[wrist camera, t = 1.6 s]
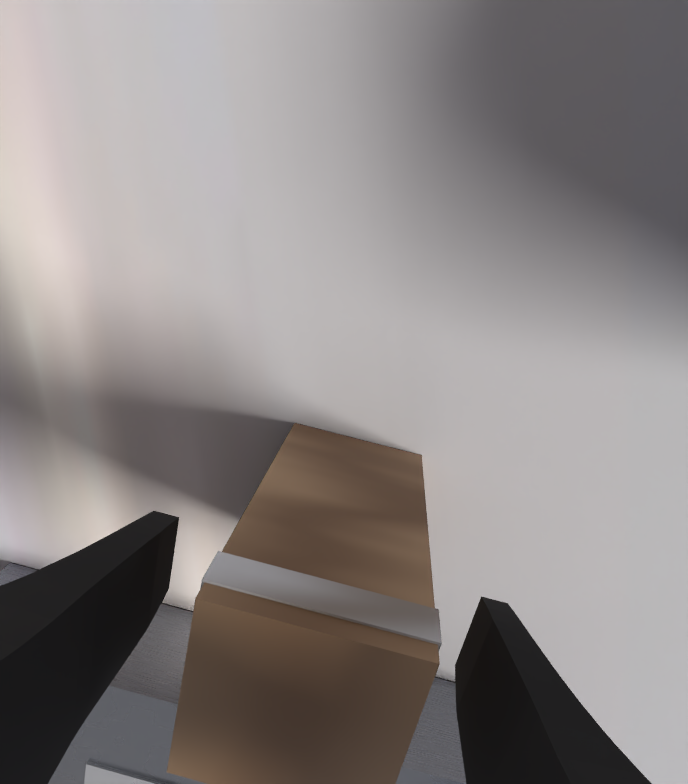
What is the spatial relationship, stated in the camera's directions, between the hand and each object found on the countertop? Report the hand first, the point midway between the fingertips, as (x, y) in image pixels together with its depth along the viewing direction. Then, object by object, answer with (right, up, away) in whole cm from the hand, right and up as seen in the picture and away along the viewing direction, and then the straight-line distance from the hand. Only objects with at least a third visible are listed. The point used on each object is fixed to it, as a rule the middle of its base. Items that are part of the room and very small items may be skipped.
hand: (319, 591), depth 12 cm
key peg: (+1, +1, +4) cm, 5 cm away
